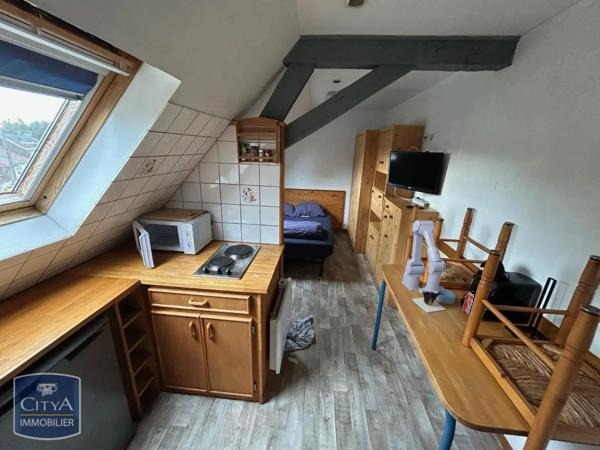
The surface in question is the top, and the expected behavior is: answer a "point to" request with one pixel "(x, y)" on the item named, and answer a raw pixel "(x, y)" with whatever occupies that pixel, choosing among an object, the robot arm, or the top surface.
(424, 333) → the top surface
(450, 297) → the bowl
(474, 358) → the top surface
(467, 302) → the soda can
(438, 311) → the mat
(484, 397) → the top surface
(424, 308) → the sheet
